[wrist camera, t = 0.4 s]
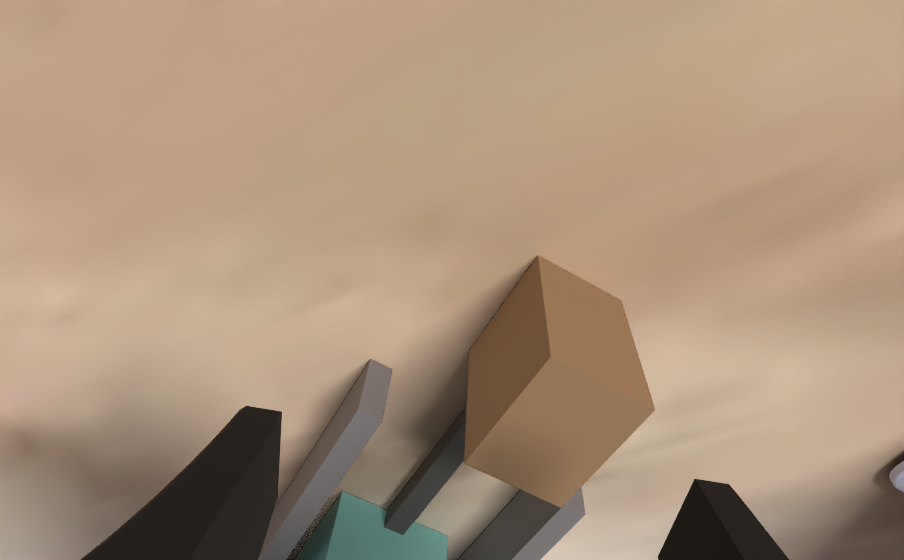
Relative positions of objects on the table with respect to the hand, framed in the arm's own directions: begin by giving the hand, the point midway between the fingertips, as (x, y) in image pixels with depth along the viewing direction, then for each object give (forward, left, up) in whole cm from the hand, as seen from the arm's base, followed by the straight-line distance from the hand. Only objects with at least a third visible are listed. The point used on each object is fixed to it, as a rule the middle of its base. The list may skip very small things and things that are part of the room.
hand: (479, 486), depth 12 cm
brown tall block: (-3, +8, -9) cm, 13 cm away
